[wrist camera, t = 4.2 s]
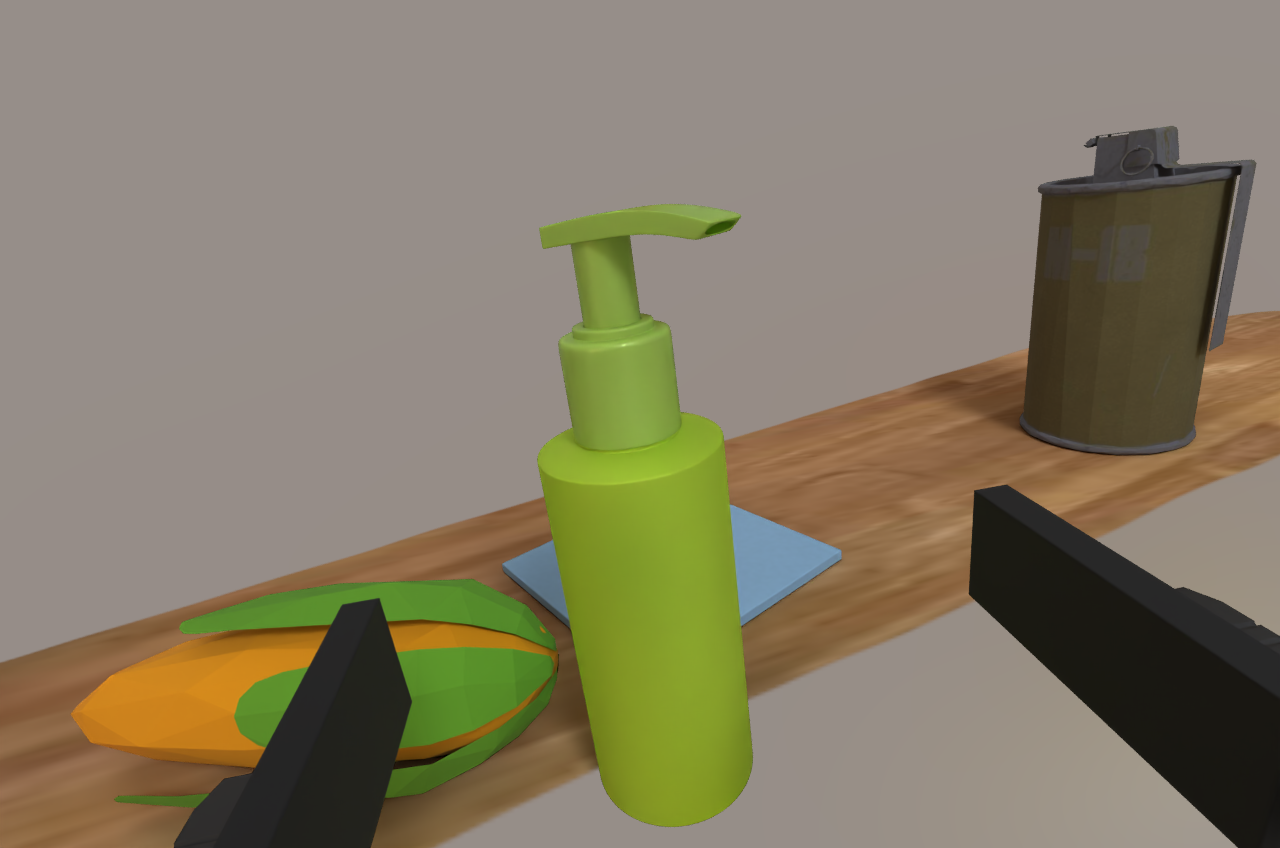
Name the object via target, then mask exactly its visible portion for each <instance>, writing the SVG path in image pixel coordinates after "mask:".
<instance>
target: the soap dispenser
mask: <svg viewBox="0 0 1280 848" xmlns="http://www.w3.org/2000/svg"><path fill="white" fill-rule="evenodd" d="M740 217H741V215H740V214H738V213H735V212H731V211H727V210H722V209H717V208H711V207H705V206H697V205H684V204H661V205H650V206H642V207H635V208H629V209H624V210H618V211H612V212H606V213H601V214H595V215H590V216H585V217H580V218H576V219H572V220H568V221H564V222H560V223H556V224H552V225H548V226H544V227H541V228H539V230H540V236H541V242H542V247H543V249H546V248H551V247H557V246H563V245H568V244H571V249H572V256H573V262H574V268H575V273H576V280H577V287H578V292H579V299H580V305H581V311H582V318H583V322H581V323H578V324H577V325H575V326H573V328H572V332H570V333H568V334H566V335H565V336H563V337H562V338H561V339H560V340H559V343H558V345H559V353H560V359H561V365H562V371H563V376H564V382H565V388H566V393H567V399H568V404H569V410H570V416H571V421H572V427H573V428H571V429H568V430H566V431H564V432H562V433H561V434H559V435H557V436H556V437H554V438H553V439H551V440H550V441H549V442H547V443H546V445H544V446H543V448H542V449H541V450H540V452H539V454H538V459H537V461H538V467H539V472H540V477H541V482H542V487H543V492H544V497H545V502H546V507H547V512H548V517H549V522H550V527H551V532H552V537H553V542H554V547H555V552H556V557H557V562H558V567H559V572H560V577H561V582H562V587H563V592H564V597H565V602H566V607H567V612H568V617H569V622H570V627H571V632H572V637H573V642H574V647H575V652H576V657H577V662H578V667H579V671H580V676H581V681H582V686H583V691H584V696H585V701H586V706H587V711H588V716H589V721H590V726H591V731H592V736H593V741H594V746H595V751H596V756H597V761H598V766H599V771H600V776H601V780H602V783H603V786H604V788H605V790H606V792H607V794H608V795H609V797H610V799H611V800H612V801H613V802H614V803H615V805H616V806H617V807H618V808H620V809H621V810H622V811H623V812H625V813H626V814H628V815H629V816H631V817H633V818H635V819H637V820H639V821H642V822H644V823H648V824H652V825H657V826H665V827H679V826H687V825H691V824H695V823H699V822H702V821H705V820H707V819H709V818H712V817H713V816H715V815H717V814H719V813H720V812H722V811H723V810H725V809H726V808H727V807H728V806H730V805H731V804H732V803H733V802H734V801H735V800H736V799H737V797H738V796H739V795H740V794H741V792H742V791H743V789H744V787H745V786H746V784H747V782H748V779H749V776H750V773H751V769H752V763H753V752H752V741H751V731H750V719H749V710H748V697H747V686H746V675H745V665H744V654H743V643H742V632H741V621H740V610H739V599H738V588H737V577H736V567H735V556H734V545H733V534H732V523H731V512H730V501H729V490H728V480H727V469H726V458H725V447H724V436H723V432H722V430H721V428H720V427H719V426H718V425H717V424H716V423H715V422H713V421H711V420H709V419H707V418H705V417H701V416H699V415H695V414H690V413H684V412H680V406H679V397H678V389H677V380H676V371H675V363H674V354H673V345H672V336H671V330H670V327H669V325H667V324H666V323H664V322H661V321H655V320H653V317H652V316H651V315H647V314H641V313H640V311H639V302H638V295H637V287H636V279H635V272H634V265H633V257H632V249H631V241H630V235H638V234H639V235H640V234H653V235H666V236H674V237H680V238H686V239H695V240H697V239H701V238H705V237H709V236H712V235H716V234H720V233H723V232H727V231H730V230H731V229H732V228H733V226H734V225H735V224H736V223H737V222H738V220H739V218H740Z"/></svg>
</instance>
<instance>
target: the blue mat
mask: <svg viewBox="0 0 1280 848" xmlns="http://www.w3.org/2000/svg"><path fill="white" fill-rule="evenodd" d="M730 512H731V523H732V534H733V545H734V556H735V567H736V577H737V588H738V599H739V610H740V621H741V626H742V625H744V624H745V623H747V622H748V621H750V620H751V619H753V618H754V617H756V616H757V615H759V614H760V613H762V612H763V611H765V610H766V609H768V608H769V607H771V606H772V605H774V604H775V603H777V602H778V601H780V600H781V599H783V598H784V597H786V596H787V595H788V594H790V593H791V592H793V591H794V590H796V589H797V588H799V587H800V586H802V585H803V584H805V583H806V582H808V581H809V580H811V579H812V578H814V577H815V576H817V575H818V574H820V573H821V572H823V571H824V570H826V569H827V568H829V567H830V566H832V565H833V564H835V563H836V562H838V561H839V560H841V550H840V549H837V548H835V547H832V546H830V545H827V544H825V543H823V542H820V541H818V540H815V539H813V538H810V537H808V536H806V535H803V534H801V533H798V532H796V531H794V530H791V529H789V528H786V527H784V526H781V525H779V524H777V523H774V522H772V521H769V520H767V519H765V518H762V517H760V516H757V515H755V514H752V513H750V512H748V511H745V510H743V509H740V508H738V507H735V506H733V505H731V504H730ZM502 566H503V571H504V572H505V573H506V574H507V575H508V576H509V577H511V578H512V579H513V580H514V581H515V582H516V583H518V584H519V585H520V586H521V587H522V588H523V589H525V590H526V591H527V592H528V593H529V594H530V595H532V596H533V597H534V598H535V599H536V600H537V601H539V602H540V603H541V604H542V605H543V606H544V607H546V608H547V609H548V610H549V611H550V612H552V613H553V614H554V615H555V616H556V617H557V618H559V619H560V620H561V621H562V622H563V623H564V624H566V625H567V626H568V627H569V628H570V629H571V627H570V622H569V617H568V612H567V607H566V602H565V597H564V592H563V587H562V582H561V577H560V572H559V567H558V562H557V557H556V552H555V547H554V542H553V540H552V541H550V542H548V543H546V544H544V545H541V546H539V547H537V548H535V549H533V550H531V551H528V552H526V553H524V554H522V555H520V556H518V557H516V558H513V559H511V560H509V561H507V562H505V563H503V564H502Z"/></svg>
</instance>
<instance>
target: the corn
mask: <svg viewBox="0 0 1280 848" xmlns="http://www.w3.org/2000/svg"><path fill="white" fill-rule="evenodd" d="M375 598H380V601H381V605H382V608H383V611H384V614H385V617H386V620H387V624H388V627H389V630H390V633H391V636H392V639H393V643H394V646H395V649H396V652H397V655H398V658H399V662H400V665H401V668H402V671H403V674H404V677H405V681H406V684H407V687H408V690H409V693H410V696H411V700H412V704H411V708H410V711H409V715H408V718H407V722H406V725H405V729H404V732H403V736H402V739H401V743H400V746H399V750H398V753H397V757H396V760H395V761H398V760H415V759H427V758H432V757H437V756H442V755H447V754H450V755H448V756H446V757H445V758H443V759H441V760H439V761H437V762H435V763H433V764H430V765H423V766H416V767H409V768H402V769H395V770H393V771H392V774H391V778H390V781H389V785H388V788H387V792H386V795H385V798H392V797H399V796H407V795H415V794H423V793H425V792H427V791H429V790H431V789H433V788H434V787H436V786H438V785H440V784H442V783H444V782H446V781H448V780H450V779H452V778H454V777H456V776H458V775H460V774H462V773H464V772H466V771H467V770H469V769H471V768H473V767H475V766H477V765H479V764H481V763H482V762H484V761H485V760H486V759H488V758H489V757H491V756H492V755H493V754H495V753H496V752H498V751H499V750H500V749H502V748H503V747H504V746H506V745H507V744H509V743H510V742H511V741H513V740H514V739H516V738H517V737H518V736H520V734H521V733H522V732H523V731H524V730H525V729H526V728H527V727H528V726H529V725H530V723H531V722H532V721H533V720H534V719H535V718H536V717H537V716H538V715H539V714H540V712H541V711H542V710H543V709H544V708H545V707H546V706H547V705H548V703H549V700H550V697H551V694H552V691H553V688H554V685H555V682H556V679H557V672H558V666H559V654H558V650H557V648H556V643H555V638H554V637H553V636H552V635H551V634H550V632H549V631H548V630H547V629H546V628H545V626H544V625H543V624H542V623H541V622H540V621H539V619H538V618H537V617H536V616H535V615H534V613H533V612H532V611H531V610H530V609H529V608H528V606H527V605H525V604H523V603H521V602H519V601H517V600H515V599H513V598H511V597H509V596H507V595H504V594H502V593H500V592H498V591H496V590H494V589H492V588H490V587H488V586H486V585H484V584H482V583H480V582H478V581H476V580H474V579H461V580H431V581H401V582H371V583H341V584H334V585H327V586H321V587H314V588H308V589H302V590H295V591H289V592H283V593H276V594H270V595H267V596H263V597H260V598H257V599H254V600H250V601H247V602H244V603H240V604H237V605H234V606H231V607H227V608H224V609H221V610H218V611H215V612H211V613H208V614H205V615H202V616H199V617H196V618H193V619H190V620H187V621H184V622H182V624H181V626H180V628H179V629H180V630H181V631H182V633H183V634H199V633H209V632H219V631H227V632H223V633H219V634H215V635H211V636H207V637H203V638H199V639H195V640H191V641H187V642H185V643H182V644H180V645H178V646H175V647H173V648H171V649H169V650H166V651H164V652H162V653H159V654H157V655H155V656H152V657H150V658H148V659H146V660H143V661H141V662H139V663H136V664H134V665H132V666H130V667H127V668H125V669H123V670H120V671H119V672H117V673H115V674H113V675H111V676H110V677H109V678H108V679H107V680H105V681H104V682H103V683H102V684H101V685H100V686H99V687H98V688H97V689H95V690H94V691H93V692H92V693H91V694H90V695H89V696H88V697H87V698H85V699H84V700H83V701H82V702H81V703H80V704H79V705H78V706H77V707H76V708H75V709H74V711H73V712H72V713H71V715H72V717H73V718H74V720H75V721H76V722H77V724H78V725H79V727H80V728H81V730H82V731H83V732H84V734H85V735H86V737H87V738H88V740H89V741H90V742H91V743H94V744H98V745H102V746H106V747H109V748H113V749H117V750H121V751H125V752H129V753H132V754H136V755H140V756H144V757H148V758H152V759H155V760H167V761H179V762H191V763H203V764H215V765H227V766H239V767H251V768H255V767H256V765H257V763H258V762H259V760H260V758H261V756H262V754H263V752H264V750H265V748H266V747H267V745H268V743H269V741H270V739H271V737H272V735H273V733H274V731H275V730H276V728H277V726H278V724H279V722H280V720H281V718H282V716H283V715H284V713H285V711H286V709H287V707H288V705H289V703H290V701H291V699H292V698H293V696H294V694H295V692H296V690H297V688H298V686H299V684H300V682H301V681H302V679H303V677H304V675H305V673H306V671H307V669H308V667H309V666H310V664H311V662H312V660H313V658H314V656H315V654H316V652H317V650H318V649H319V647H320V645H321V643H322V641H323V639H324V637H325V635H326V634H327V632H328V630H329V628H330V626H331V624H332V622H333V620H334V618H335V617H336V615H337V613H338V611H339V609H340V607H341V605H342V604H348V603H353V602H359V601H364V600H370V599H375ZM229 630H231V631H229ZM209 794H210V793H208V794H198V795H188V796H118V797H117V798H115V799H114V800H115V801H117V802H123V803H136V804H150V805H164V806H178V807H197V806H198V805H199V804H200V803H201V802H202V801H203V800H204V799H205V798H206V797H207V796H208V795H209Z"/></svg>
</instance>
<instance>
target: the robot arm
mask: <svg viewBox="0 0 1280 848" xmlns="http://www.w3.org/2000/svg"><path fill="white" fill-rule="evenodd" d="M969 595H970V596H971V597H972V598H973V599H974V600H975V601H976V602H978V603H979V604H980V605H981V606H982V607H983V608H984V609H985V610H986V611H987V612H988V613H989V614H990V615H991V616H992V617H993V618H995V619H996V620H997V621H998V622H999V623H1000V624H1001V625H1002V626H1003V627H1004V628H1005V629H1006V630H1007V631H1008V632H1009V633H1011V634H1012V635H1013V636H1014V637H1015V638H1016V639H1017V640H1018V641H1019V642H1020V643H1021V644H1022V645H1023V646H1024V647H1025V648H1026V649H1027V650H1029V651H1030V652H1031V653H1032V654H1033V655H1034V656H1035V657H1036V658H1037V659H1038V660H1039V661H1040V662H1041V663H1043V665H1045V666H1046V667H1047V668H1048V669H1049V670H1050V671H1051V672H1052V673H1053V674H1054V675H1055V676H1056V677H1057V678H1058V679H1059V680H1060V681H1061V682H1062V683H1064V684H1065V685H1066V686H1067V687H1068V688H1069V689H1070V690H1071V691H1072V692H1073V693H1074V694H1075V695H1076V696H1077V697H1078V698H1080V699H1081V700H1082V701H1083V702H1084V703H1085V704H1086V705H1087V706H1088V707H1089V708H1090V709H1091V710H1092V711H1093V712H1094V713H1095V714H1097V715H1098V716H1099V717H1100V718H1101V719H1102V720H1103V721H1104V722H1105V723H1106V724H1107V725H1108V726H1109V727H1110V728H1111V729H1113V731H1115V732H1116V733H1117V734H1118V735H1119V736H1120V737H1121V738H1122V739H1123V740H1124V741H1125V742H1126V743H1127V744H1128V745H1130V747H1132V748H1133V749H1134V750H1135V751H1136V752H1137V753H1138V754H1139V755H1140V756H1141V757H1142V758H1143V759H1144V760H1145V761H1146V762H1147V763H1149V764H1150V765H1151V766H1152V767H1153V768H1154V769H1155V770H1156V771H1157V772H1158V773H1159V774H1160V775H1161V776H1162V777H1163V778H1164V779H1166V780H1167V781H1168V782H1169V783H1170V784H1171V785H1172V786H1173V787H1174V788H1175V789H1176V790H1177V791H1178V792H1179V793H1181V795H1183V796H1184V797H1185V798H1186V799H1187V800H1188V801H1189V802H1190V803H1191V804H1192V805H1193V806H1194V807H1195V808H1196V809H1197V810H1198V811H1200V812H1201V813H1202V814H1203V815H1204V816H1205V817H1206V818H1207V819H1208V820H1209V821H1210V822H1211V823H1212V824H1213V825H1215V827H1217V828H1218V829H1219V830H1220V831H1221V832H1222V833H1223V834H1224V835H1225V836H1226V837H1227V838H1228V839H1229V840H1230V841H1231V842H1233V843H1234V844H1235V845H1236V846H1237V847H1238V848H1280V636H1278V635H1277V634H1275V633H1273V632H1272V631H1270V630H1269V629H1267V628H1265V627H1263V626H1262V625H1258V626H1257V625H1256V624H1255V623H1254V621H1253V620H1252V619H1250V618H1248V617H1247V616H1245V615H1243V614H1242V613H1240V612H1238V611H1237V610H1235V609H1233V608H1232V607H1230V606H1228V605H1227V604H1225V603H1223V602H1221V601H1219V600H1216V599H1213V598H1211V597H1208V596H1206V595H1202V594H1200V593H1197V592H1195V591H1192V590H1190V589H1187V588H1184V587H1182V588H1177V589H1174V588H1172V587H1171V586H1169V585H1168V584H1166V583H1164V582H1163V581H1161V580H1159V579H1158V578H1156V577H1155V576H1153V575H1151V574H1150V573H1148V572H1147V571H1145V570H1143V569H1142V568H1140V567H1138V566H1137V565H1135V564H1134V563H1132V562H1130V561H1129V560H1127V559H1126V558H1124V557H1122V556H1121V555H1119V554H1117V553H1116V552H1114V551H1113V550H1111V549H1109V548H1108V547H1106V546H1105V545H1103V544H1101V543H1100V542H1098V541H1097V540H1095V539H1093V538H1092V537H1090V536H1089V535H1087V534H1085V533H1084V532H1082V531H1080V530H1079V529H1077V528H1076V527H1074V526H1072V525H1071V524H1069V523H1068V522H1066V521H1064V520H1063V519H1061V518H1060V517H1058V516H1056V515H1055V514H1053V513H1051V512H1050V511H1048V510H1047V509H1045V508H1043V507H1042V506H1040V505H1039V504H1037V503H1035V502H1034V501H1032V500H1031V499H1029V498H1027V497H1026V496H1024V495H1022V494H1021V493H1019V492H1018V491H1016V490H1014V489H1013V488H1011V487H1010V486H1008V485H1002V486H997V487H991V488H985V489H980V490H974V508H973V527H972V545H971V563H970V582H969ZM411 704H412V700H411V696H410V693H409V690H408V687H407V684H406V681H405V677H404V674H403V671H402V668H401V665H400V662H399V658H398V655H397V652H396V649H395V646H394V643H393V639H392V636H391V633H390V630H389V627H388V624H387V620H386V617H385V614H384V611H383V608H382V605H381V601H380V598H375V599H370V600H364V601H359V602H353V603H348V604H342V605H341V607H340V609H339V611H338V613H337V615H336V617H335V618H334V620H333V622H332V624H331V626H330V628H329V630H328V632H327V634H326V635H325V637H324V639H323V641H322V643H321V645H320V647H319V649H318V650H317V652H316V654H315V656H314V658H313V660H312V662H311V664H310V666H309V667H308V669H307V671H306V673H305V675H304V677H303V679H302V681H301V682H300V684H299V686H298V688H297V690H296V692H295V694H294V696H293V698H292V699H291V701H290V703H289V705H288V707H287V709H286V711H285V713H284V715H283V716H282V718H281V720H280V722H279V724H278V726H277V728H276V730H275V731H274V733H273V735H272V737H271V739H270V741H269V743H268V745H267V747H266V748H265V750H264V752H263V754H262V756H261V758H260V760H259V762H258V763H257V765H256V767H255V769H254V771H253V773H251V774H246V775H241V776H236V777H231V778H226V779H223V781H222V782H221V783H220V784H219V785H218V786H217V787H216V788H215V789H214V790H213V791H212V792H211V793H210V794H209V795H208V796H207V797H206V798H205V799H204V800H203V801H202V802H201V803H200V804H199V805H198V806H197V807H196V808H195V809H194V811H193V812H192V814H191V816H190V817H189V819H188V821H187V822H186V824H185V826H184V827H183V829H182V831H181V833H180V834H179V836H178V838H177V839H176V841H175V843H174V848H371V844H372V841H373V837H374V834H375V830H376V827H377V823H378V820H379V816H380V813H381V809H382V806H383V802H384V799H385V795H386V792H387V788H388V785H389V781H390V778H391V774H392V771H393V767H394V764H395V760H396V757H397V753H398V750H399V746H400V743H401V739H402V736H403V732H404V729H405V725H406V722H407V718H408V715H409V711H410V708H411Z"/></svg>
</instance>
